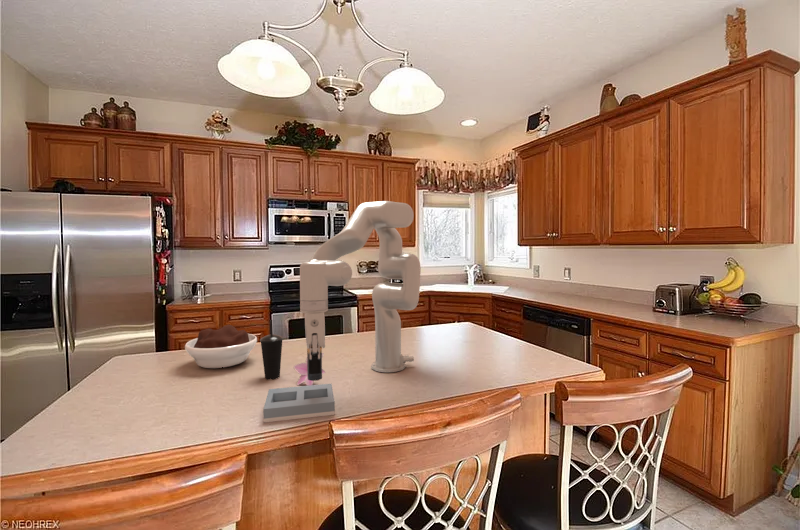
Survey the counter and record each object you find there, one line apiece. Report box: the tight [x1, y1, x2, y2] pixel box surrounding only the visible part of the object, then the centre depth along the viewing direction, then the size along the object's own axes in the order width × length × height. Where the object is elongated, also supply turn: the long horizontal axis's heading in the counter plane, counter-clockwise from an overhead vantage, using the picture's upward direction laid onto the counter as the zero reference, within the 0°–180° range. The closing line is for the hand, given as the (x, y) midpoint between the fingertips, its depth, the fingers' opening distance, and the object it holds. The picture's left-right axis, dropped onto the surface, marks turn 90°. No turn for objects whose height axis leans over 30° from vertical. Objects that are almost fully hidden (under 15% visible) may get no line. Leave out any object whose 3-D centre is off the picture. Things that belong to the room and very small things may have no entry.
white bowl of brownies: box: [184, 324, 258, 369], centre depth 144 cm, size 25×25×15 cm
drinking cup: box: [259, 319, 284, 380], centre depth 129 cm, size 8×8×20 cm
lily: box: [293, 352, 326, 386], centre depth 124 cm, size 12×12×10 cm
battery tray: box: [262, 383, 336, 423], centre depth 105 cm, size 18×14×4 cm
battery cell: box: [306, 346, 323, 382], centre depth 105 cm, size 4×4×10 cm
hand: (314, 370), depth 105 cm, fingers closed on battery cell, 4 cm apart
